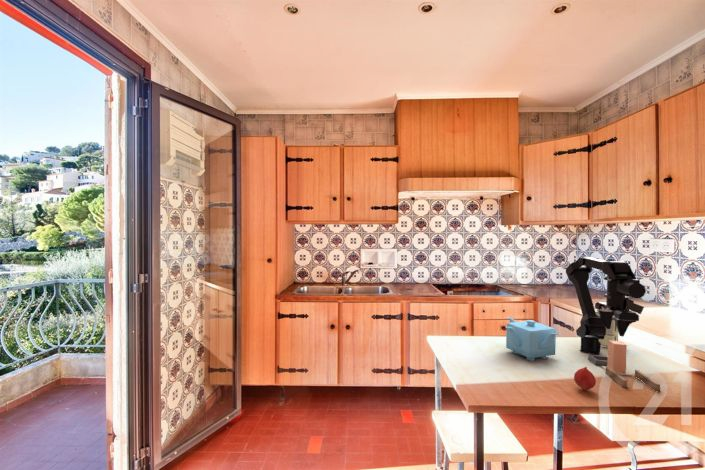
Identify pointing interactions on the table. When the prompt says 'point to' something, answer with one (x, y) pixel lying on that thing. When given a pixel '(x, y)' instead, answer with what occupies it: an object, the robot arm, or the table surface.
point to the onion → (584, 379)
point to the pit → (598, 360)
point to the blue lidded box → (530, 339)
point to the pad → (619, 372)
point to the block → (617, 356)
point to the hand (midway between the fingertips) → (614, 332)
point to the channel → (638, 374)
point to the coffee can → (609, 333)
